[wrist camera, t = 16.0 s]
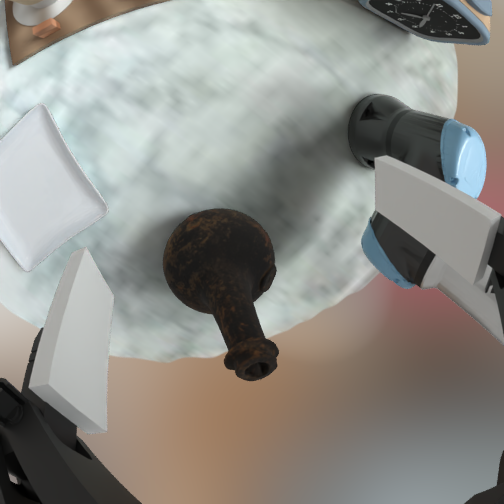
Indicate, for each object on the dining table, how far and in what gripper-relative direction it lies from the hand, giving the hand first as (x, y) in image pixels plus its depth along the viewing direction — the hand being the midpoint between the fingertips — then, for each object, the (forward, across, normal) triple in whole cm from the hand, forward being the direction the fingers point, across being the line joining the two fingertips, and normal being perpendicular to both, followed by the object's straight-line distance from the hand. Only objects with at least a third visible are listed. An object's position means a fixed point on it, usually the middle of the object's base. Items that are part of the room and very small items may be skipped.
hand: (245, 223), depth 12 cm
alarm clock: (+35, -42, -19) cm, 58 cm away
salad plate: (+35, +27, 0) cm, 44 cm away
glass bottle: (+35, +1, +21) cm, 41 cm away
